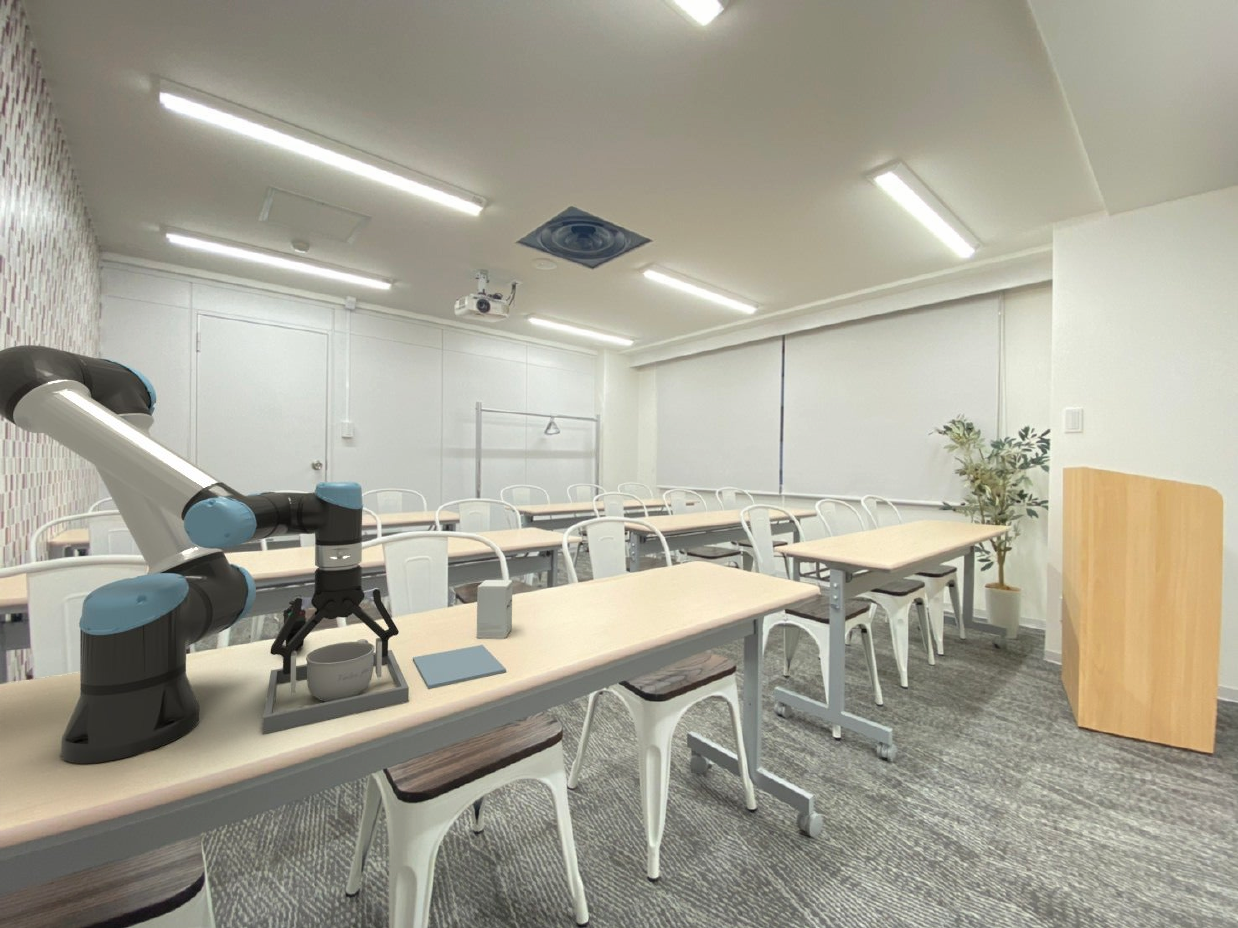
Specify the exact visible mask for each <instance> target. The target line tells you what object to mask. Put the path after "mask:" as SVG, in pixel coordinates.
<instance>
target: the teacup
mask: <svg viewBox="0 0 1238 928" xmlns="http://www.w3.org/2000/svg"><path fill="white" fill-rule="evenodd" d="M375 650H376V646H375V645H374V644H372V643H370V642H369V641H368V640H367V639H365V638H360V639H358V640H357V641H345V642H336V643H332V644H327V645H324V646H321V647H318V648H315V649H314V650H312V651H310V652H309V653H308V654H307V655H306V657H305V660H306V664H307V679H306V683H307V684H306V685H307V688H308V692H309V693H310V694H311V695H312V696H313V697H316V698H318V699H319V700H321V701H323V702H330V701H334V700H339V699H344V698H349V697H354V696H358V695H360V693H361V692H362V691H363V690H364V689H365V688H366V687H368V685H369V684H370V683H371V681H372V678H373V674H374V667H373V662H374V653H375Z"/></svg>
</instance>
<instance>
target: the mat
mask: <svg viewBox="0 0 1238 928" xmlns="http://www.w3.org/2000/svg"><path fill="white" fill-rule="evenodd" d="M412 662H413V664H414V666H415V667H416V668H417V670H418V673H419V674H420V676H421V678H422V680H423V681H424V684H425V686H426V688H427V689H428V690H429V689H434V688H439V687H443V686H447V685H454V684H456V683H457V684H458V683H462V682H467V681H471V680H476V679H480V678H481V679H482V678H485V677H489V676H494V675H499V674H504V673H507V668H506V667H504V665H503V664H502V663H501V662H500V661H499V660H498V659H497V658H496V657H495V656H494V655H493V654H492V653H491V652H490V651H489V650H488V649H487V648H486V647H485V646H484V645H483V644H479V645H474V646H469V647H463V648H458V649H457V648H456V649H452V650H447V651H441V652H435V653H430V654H424V655H420V656H413V657H412Z"/></svg>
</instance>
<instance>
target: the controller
mask: <svg viewBox="0 0 1238 928" xmlns="http://www.w3.org/2000/svg"><path fill="white" fill-rule="evenodd" d="M288 604H289V605H290V606H289V607H288V608H287V609H285V610H283V624H284V623H285V621H286V620H287V618H288V616H289V614H290V613H291V611H292V609H293V604H294V600H291V601H289V602H288ZM306 622H307V618H306V609H304V610H301V612H300V614H299V616H298V618H297V620H296V622H295V624H294V625H293V627H292V629H291V631H290V632H289V634H288V636H287V638H286V640H285V641H284V643H285V646H286V645H287V644H288V643H289V641H290V640H291V639H292V638H293V637H294V636H295V635H296V634H297V632H298V631H299V630H300V629H301V628H302V627H303V626H304V625H305V623H306ZM304 644H305V639H304V640H303V641H302V642H301V643H300V644H299V645H298V647H297V648H296V649H295V650H297V649H300V648H303V646H304Z"/></svg>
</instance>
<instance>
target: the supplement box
mask: <svg viewBox="0 0 1238 928" xmlns="http://www.w3.org/2000/svg"><path fill="white" fill-rule="evenodd" d="M476 595H477V596H476V597H477V598H476V599H477V600H476V601H477V602H476V638H477V639H506V638H507V636H508V635H509V633H510V631H511V630H512V629H513V626H512V625H513V624H512V623H513V622H512V621H513V579H485V580H484V581H482V582H481V583H480V584H479V585H477V594H476Z"/></svg>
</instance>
